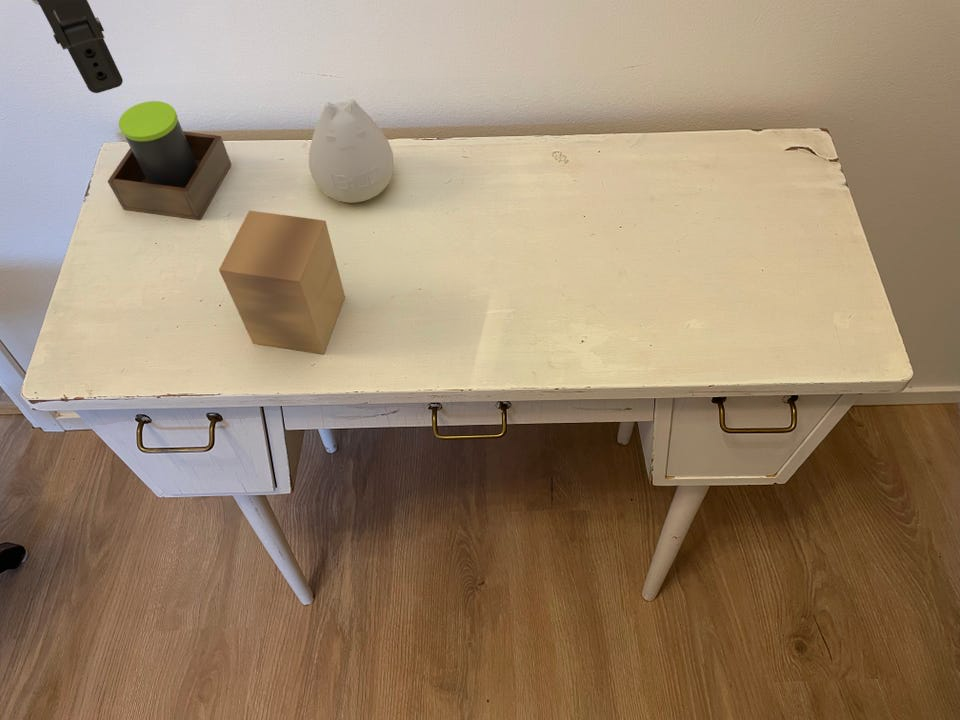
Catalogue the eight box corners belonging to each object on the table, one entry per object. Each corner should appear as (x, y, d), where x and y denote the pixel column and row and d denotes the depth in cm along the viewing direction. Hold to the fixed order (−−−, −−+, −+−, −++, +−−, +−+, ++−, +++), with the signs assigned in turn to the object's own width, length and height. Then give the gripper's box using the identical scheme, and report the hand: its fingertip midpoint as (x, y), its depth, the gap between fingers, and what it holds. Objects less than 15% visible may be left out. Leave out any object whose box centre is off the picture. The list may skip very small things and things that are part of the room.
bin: (123, 209, 90) (106, 181, 86) (158, 155, 95) (144, 126, 91) (200, 220, 88) (187, 191, 85) (231, 164, 94) (221, 135, 90)
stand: (252, 343, 78) (218, 269, 68) (277, 287, 82) (249, 210, 73) (323, 354, 77) (299, 281, 67) (345, 296, 82) (325, 220, 72)
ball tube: (142, 197, 90) (108, 133, 82) (164, 163, 93) (133, 98, 85) (191, 204, 89) (161, 139, 81) (211, 169, 93) (184, 104, 85)
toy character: (318, 218, 88) (296, 139, 79) (311, 161, 94) (291, 80, 84) (402, 206, 90) (391, 125, 80) (390, 150, 95) (379, 69, 85)
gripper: (-144, -267, 39) (18, 19, 53) (-123, -171, 32) (57, 130, 46) (2, -290, 41) (121, -10, 55) (52, -205, 34) (175, 93, 48)
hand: (92, 54), depth 50 cm, fingers open, 8 cm apart
